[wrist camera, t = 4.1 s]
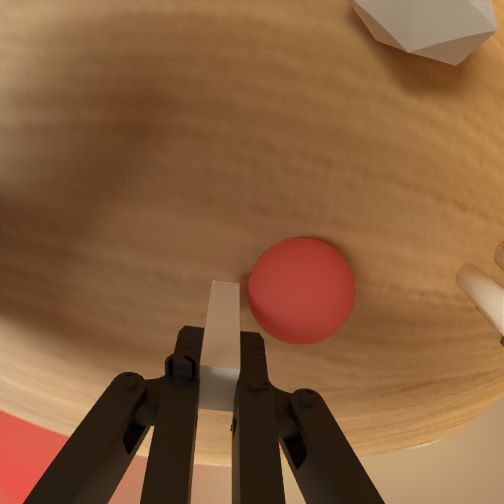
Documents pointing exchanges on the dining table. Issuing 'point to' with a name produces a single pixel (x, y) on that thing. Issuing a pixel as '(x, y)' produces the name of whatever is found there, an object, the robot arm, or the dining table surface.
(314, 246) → the ball
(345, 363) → the dining table surface
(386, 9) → the die
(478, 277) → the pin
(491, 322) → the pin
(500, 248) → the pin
